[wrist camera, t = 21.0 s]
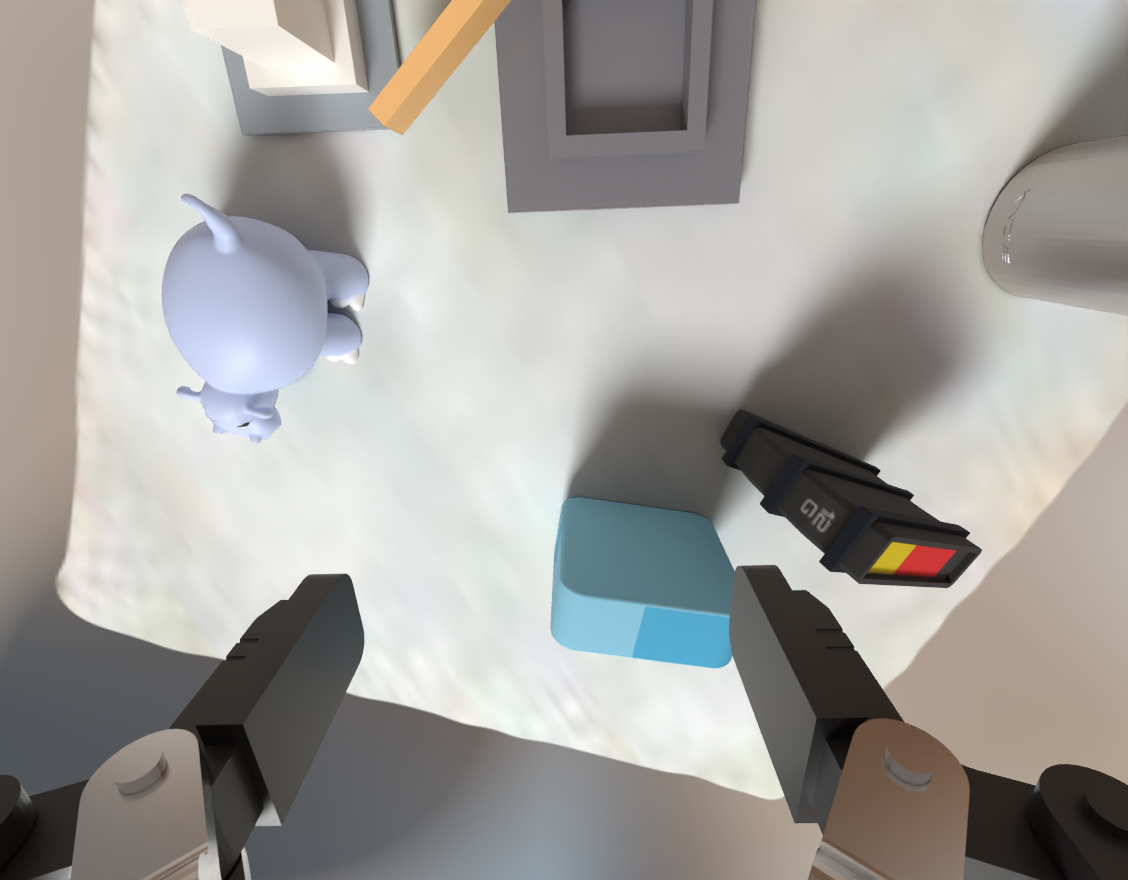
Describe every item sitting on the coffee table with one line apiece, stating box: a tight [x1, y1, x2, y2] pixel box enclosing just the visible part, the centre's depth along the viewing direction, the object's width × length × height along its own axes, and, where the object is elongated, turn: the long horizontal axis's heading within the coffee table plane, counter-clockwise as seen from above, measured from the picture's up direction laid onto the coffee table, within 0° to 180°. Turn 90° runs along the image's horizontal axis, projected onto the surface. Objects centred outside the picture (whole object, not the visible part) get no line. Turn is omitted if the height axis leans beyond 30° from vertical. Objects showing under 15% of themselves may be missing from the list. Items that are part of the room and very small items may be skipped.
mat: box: [221, 0, 400, 135], centre depth 30 cm, size 10×10×1 cm
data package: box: [551, 497, 735, 668], centre depth 37 cm, size 12×4×12 cm, turn 81°
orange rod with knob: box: [368, 0, 511, 135], centre depth 25 cm, size 2×14×3 cm, turn 134°
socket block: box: [495, 0, 756, 213], centre depth 29 cm, size 14×14×4 cm
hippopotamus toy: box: [162, 194, 369, 443], centre depth 32 cm, size 11×15×10 cm
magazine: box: [720, 410, 982, 588], centre depth 35 cm, size 4×13×15 cm, turn 67°
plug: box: [182, 0, 369, 96], centre depth 26 cm, size 6×6×8 cm
